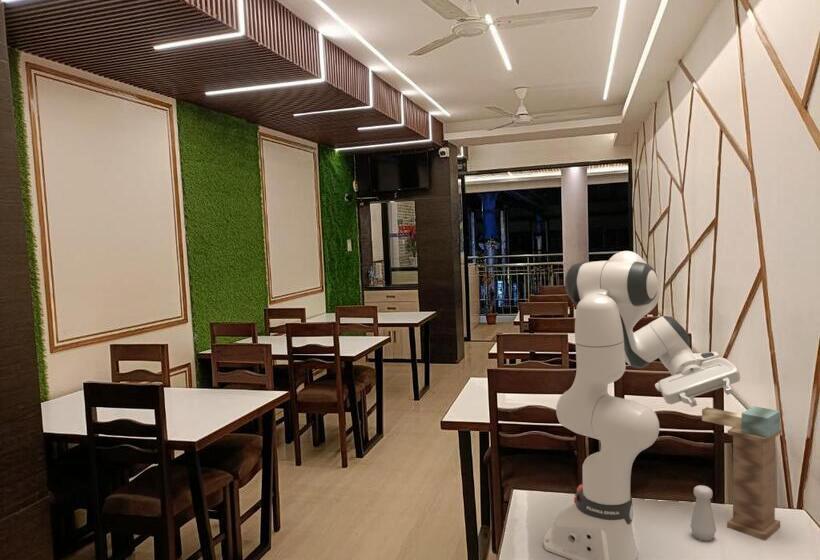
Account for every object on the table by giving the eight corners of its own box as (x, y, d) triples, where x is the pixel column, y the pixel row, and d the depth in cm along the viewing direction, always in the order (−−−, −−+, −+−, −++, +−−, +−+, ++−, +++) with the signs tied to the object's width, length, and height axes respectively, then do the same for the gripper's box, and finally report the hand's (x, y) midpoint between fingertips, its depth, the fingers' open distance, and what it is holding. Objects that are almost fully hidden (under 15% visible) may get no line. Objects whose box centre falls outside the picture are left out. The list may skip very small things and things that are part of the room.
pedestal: (727, 527, 152) (727, 430, 150) (743, 514, 158) (743, 421, 156) (765, 540, 145) (766, 439, 143) (780, 526, 151) (781, 429, 149)
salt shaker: (719, 543, 144) (719, 493, 143) (694, 542, 146) (694, 492, 145) (711, 531, 150) (711, 483, 149) (688, 530, 151) (687, 482, 150)
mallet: (697, 422, 157) (697, 404, 156) (711, 415, 162) (711, 398, 161) (767, 438, 144) (767, 418, 143) (779, 430, 149) (779, 411, 148)
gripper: (649, 374, 165) (669, 402, 152) (721, 349, 162) (748, 375, 149) (655, 391, 167) (675, 420, 154) (726, 367, 164) (753, 394, 151)
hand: (711, 398), depth 151 cm, fingers open, 8 cm apart
